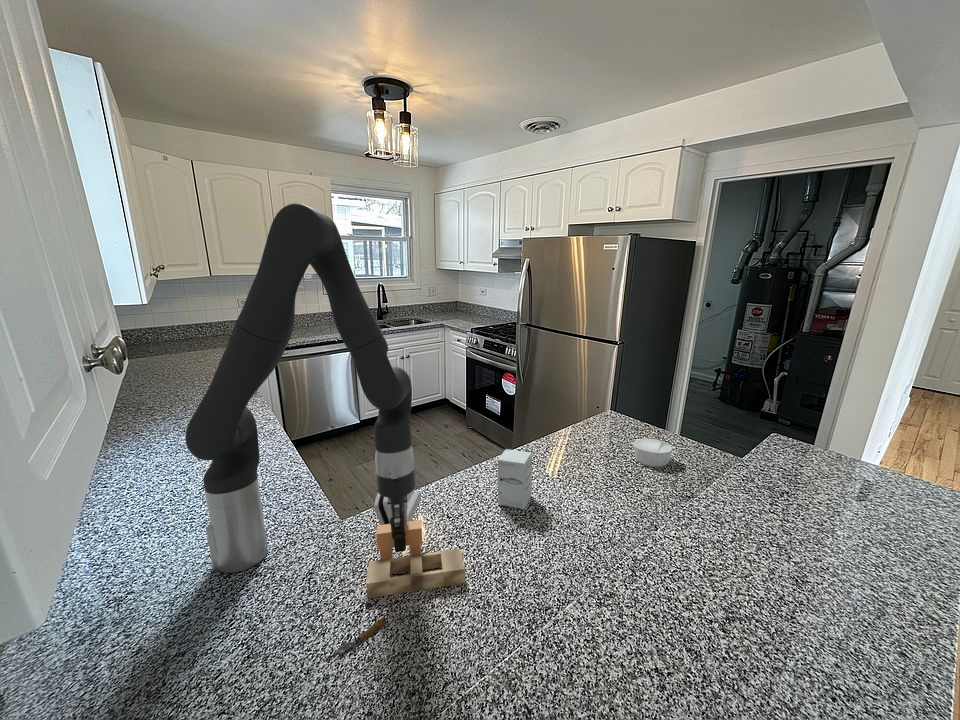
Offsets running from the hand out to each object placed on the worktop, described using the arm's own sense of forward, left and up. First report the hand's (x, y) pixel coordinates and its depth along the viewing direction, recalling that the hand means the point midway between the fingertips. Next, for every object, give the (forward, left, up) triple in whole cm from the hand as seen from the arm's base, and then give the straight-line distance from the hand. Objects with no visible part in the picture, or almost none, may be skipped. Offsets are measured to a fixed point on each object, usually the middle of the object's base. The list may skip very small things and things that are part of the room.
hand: (400, 544), depth 81 cm
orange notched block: (0, 0, -3) cm, 3 cm away
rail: (+3, -7, -3) cm, 8 cm away
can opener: (-6, -18, -3) cm, 20 cm away
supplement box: (+29, +16, -3) cm, 33 cm away
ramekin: (+77, +29, -3) cm, 82 cm away
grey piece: (-1, +17, -3) cm, 17 cm away
